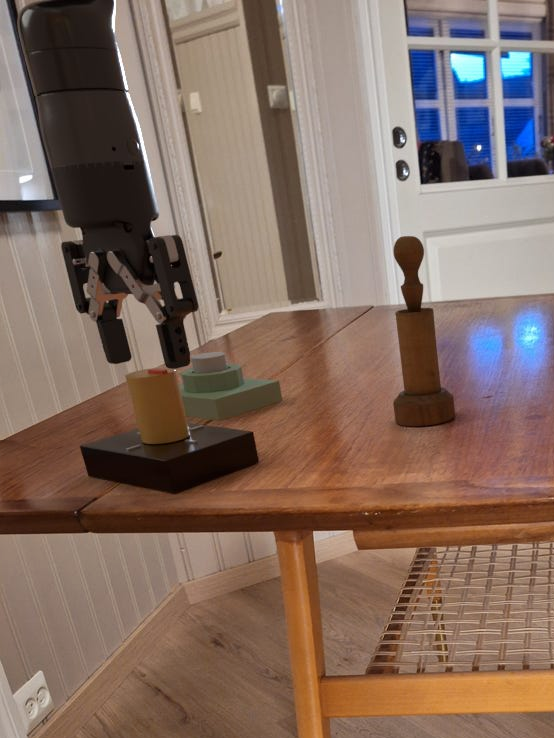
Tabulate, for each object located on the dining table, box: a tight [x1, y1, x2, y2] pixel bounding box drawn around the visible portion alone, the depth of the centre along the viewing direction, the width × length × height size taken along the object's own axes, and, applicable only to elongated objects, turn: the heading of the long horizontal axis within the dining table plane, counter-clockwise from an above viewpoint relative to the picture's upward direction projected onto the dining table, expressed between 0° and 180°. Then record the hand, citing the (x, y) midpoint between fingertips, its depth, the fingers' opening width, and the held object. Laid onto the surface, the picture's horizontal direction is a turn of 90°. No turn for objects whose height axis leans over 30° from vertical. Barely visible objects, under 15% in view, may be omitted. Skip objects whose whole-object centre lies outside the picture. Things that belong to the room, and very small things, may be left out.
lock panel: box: [79, 422, 260, 494], centre depth 82 cm, size 13×10×3 cm
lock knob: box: [124, 367, 190, 444], centre depth 80 cm, size 4×4×6 cm
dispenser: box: [179, 363, 283, 422], centre depth 105 cm, size 12×10×4 cm
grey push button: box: [190, 351, 228, 374], centre depth 104 cm, size 4×4×2 cm
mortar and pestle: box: [392, 235, 456, 427], centre depth 89 cm, size 7×6×18 cm
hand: (149, 364), depth 78 cm, fingers open, 8 cm apart
